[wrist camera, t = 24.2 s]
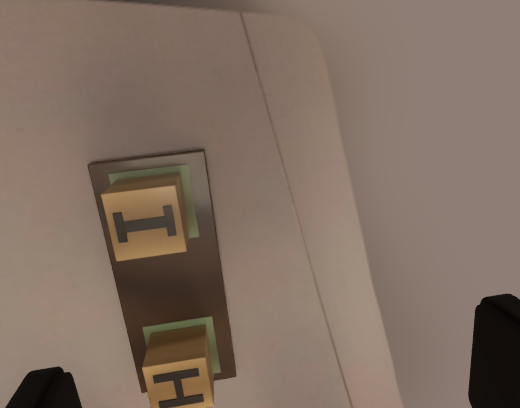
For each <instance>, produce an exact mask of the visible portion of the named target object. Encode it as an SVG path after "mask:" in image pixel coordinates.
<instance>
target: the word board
mask: <svg viewBox="0 0 520 408" xmlns="http://www.w3.org/2000/svg"><path fill="white" fill-rule="evenodd" d="M88 169H89V173H90V177H91V181H92V186H93V190H94V194H95V198H96V202H97V207H98V211H99V215H100V219H101V223H102V228H103V232H104V236H105V240H106V244H107V249H108V253H109V257H110V261H111V265H112V270H113V274H114V278H115V282H116V286H117V291H118V295H119V299H120V303H121V307H122V312H123V316H124V320H125V324H126V328H127V333H128V337H129V341H130V345H131V349H132V354H133V358H134V362H135V366H136V370H137V375H138V379H139V383H140V387H141V391H142V393H145V392H148V391H147V387H146V383H145V378H144V374H143V370H142V367H143V363H144V359H145V354H146V350H147V346H148V342H149V338H150V334H151V333H156V332H163V331H169V330H175V329H182V328H188V327H194V326H201V325H206V327H207V333H208V339H209V345H210V351H211V357H212V363H213V373H214V381H215V380H220V379H226V378H232V377H236V368H235V361H234V354H233V347H232V340H231V333H230V326H229V319H228V312H227V305H226V298H225V291H224V284H223V277H222V270H221V263H220V256H219V249H218V242H217V235H216V228H215V221H214V214H213V207H212V200H211V193H210V186H209V179H208V172H207V165H206V158H205V151H204V149H203V150H195V151H186V152H177V153H169V154H160V155H152V156H143V157H135V158H126V159H118V160H109V161H101V162H92V163H90V164H88ZM174 172H181V178H182V184H183V190H184V196H185V202H186V208H187V214H188V220H189V226H190V233H189V240H188V247H187V251H186V252H179V253H172V254H165V255H158V256H151V257H144V258H137V259H130V260H123V261H116V257H115V253H114V248H113V244H112V240H111V236H110V231H109V227H108V223H107V219H106V214H105V210H104V206H103V202H102V197H101V194H102V193H103V192H104V191H105V190H106V189H107V188H108V187H109V186H110V185H111V184H112V183H114V182H115V181H116V180H117V179H125V178H133V177H141V176H149V175H157V174H165V173H174Z"/></svg>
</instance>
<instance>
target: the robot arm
mask: <svg viewBox="0 0 520 408" xmlns="http://www.w3.org/2000/svg"><path fill="white" fill-rule="evenodd" d="M468 396H469V401H470V404H471V406H472V408H520V300H519V299H518V298H517V297H515V296H513V295H511V294H502V295H496V296H490V297H485V298H483V299H482V300H481V303H480V305H478V306H477V307H476V310H475V319H474V331H473V344H472V357H471V368H470V380H469V392H468ZM6 408H82V406H81V402H80V399H79V396H78V392H77V389H76V386H75V383H74V379H73V376H72V374H71V373H70V372H66V373H64V371H63V369H62V368H61V367H53V368H47V369H40V370H34V371H31V372H29V373H28V374H27V375H26V377H25V378H24V380H23V381H22V383H21V384H20V386H19V387H18V389H17V391H16V392H15V394H14V395H13V397H12V398H11V400H10V401H9V403H8V404H7V406H6Z"/></svg>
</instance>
